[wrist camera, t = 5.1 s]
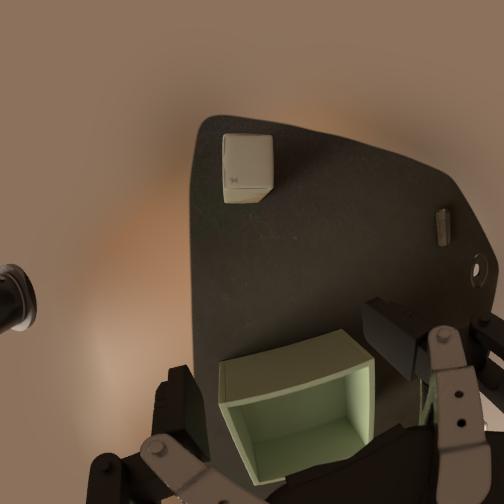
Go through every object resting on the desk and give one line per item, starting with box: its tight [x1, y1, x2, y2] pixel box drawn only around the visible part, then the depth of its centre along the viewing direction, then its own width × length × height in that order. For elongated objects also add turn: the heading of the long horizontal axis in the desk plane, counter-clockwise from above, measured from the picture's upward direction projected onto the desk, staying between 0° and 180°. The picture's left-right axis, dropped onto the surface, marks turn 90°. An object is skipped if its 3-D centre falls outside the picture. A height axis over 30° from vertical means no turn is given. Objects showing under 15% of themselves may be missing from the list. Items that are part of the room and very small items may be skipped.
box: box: [223, 134, 274, 203], centre depth 27 cm, size 5×4×11 cm
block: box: [436, 209, 451, 246], centre depth 35 cm, size 4×6×2 cm, turn 4°
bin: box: [219, 329, 375, 486], centre depth 31 cm, size 18×18×10 cm
